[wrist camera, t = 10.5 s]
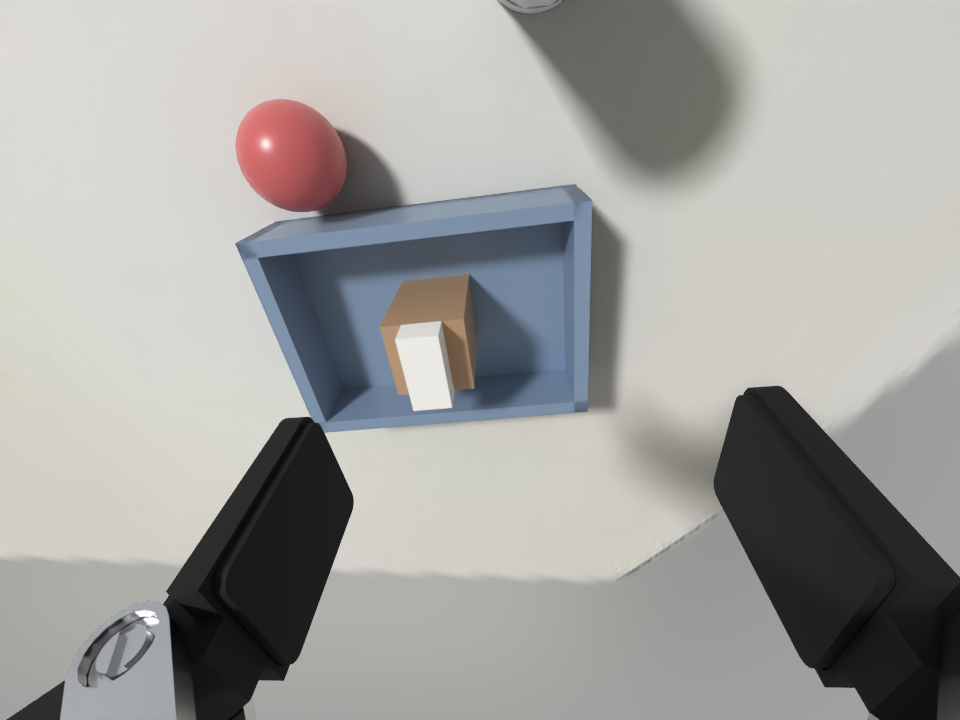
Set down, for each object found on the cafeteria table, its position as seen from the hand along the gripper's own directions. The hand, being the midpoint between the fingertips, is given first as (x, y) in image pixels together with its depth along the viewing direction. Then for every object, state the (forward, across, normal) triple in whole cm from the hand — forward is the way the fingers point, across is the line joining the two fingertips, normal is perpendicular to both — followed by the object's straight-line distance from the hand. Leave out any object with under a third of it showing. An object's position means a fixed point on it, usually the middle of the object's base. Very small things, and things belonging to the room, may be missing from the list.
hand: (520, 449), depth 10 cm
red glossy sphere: (+22, +13, -5) cm, 26 cm away
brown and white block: (+21, +6, +6) cm, 23 cm away
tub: (+22, +6, +6) cm, 24 cm away
